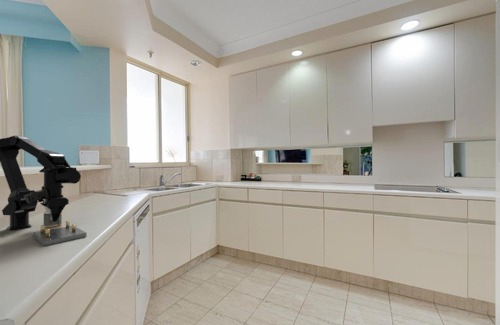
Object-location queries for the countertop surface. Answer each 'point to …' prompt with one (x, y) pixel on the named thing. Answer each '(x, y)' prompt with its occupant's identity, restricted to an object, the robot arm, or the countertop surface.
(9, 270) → the countertop surface
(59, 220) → the pill bottle
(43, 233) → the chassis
